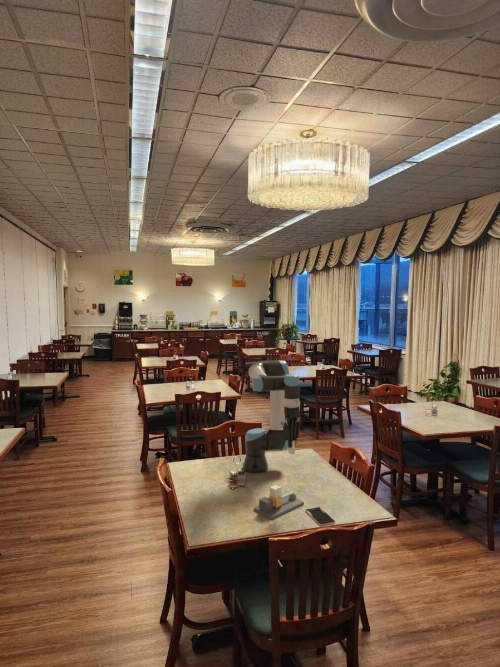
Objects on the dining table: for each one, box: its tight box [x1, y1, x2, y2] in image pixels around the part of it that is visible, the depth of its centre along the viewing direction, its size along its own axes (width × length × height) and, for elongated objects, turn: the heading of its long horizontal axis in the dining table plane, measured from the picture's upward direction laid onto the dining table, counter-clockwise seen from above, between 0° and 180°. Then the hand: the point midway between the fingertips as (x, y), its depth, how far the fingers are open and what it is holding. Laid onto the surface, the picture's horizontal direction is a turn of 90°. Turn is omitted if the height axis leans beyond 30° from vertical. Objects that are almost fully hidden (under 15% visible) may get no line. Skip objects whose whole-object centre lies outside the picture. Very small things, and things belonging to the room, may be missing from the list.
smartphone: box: [305, 506, 336, 527], centre depth 188 cm, size 8×1×15 cm
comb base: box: [253, 490, 305, 520], centre depth 198 cm, size 12×22×6 cm, turn 132°
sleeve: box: [268, 484, 282, 508], centre depth 196 cm, size 5×4×9 cm
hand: (291, 453), depth 203 cm, fingers closed
